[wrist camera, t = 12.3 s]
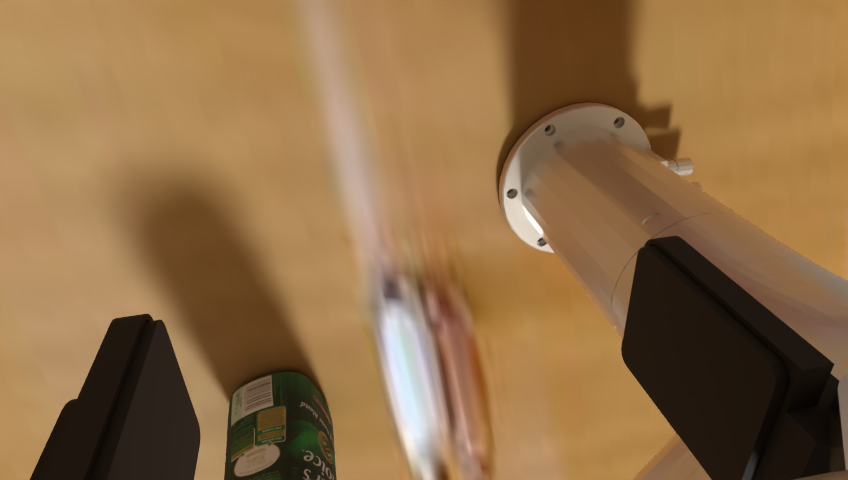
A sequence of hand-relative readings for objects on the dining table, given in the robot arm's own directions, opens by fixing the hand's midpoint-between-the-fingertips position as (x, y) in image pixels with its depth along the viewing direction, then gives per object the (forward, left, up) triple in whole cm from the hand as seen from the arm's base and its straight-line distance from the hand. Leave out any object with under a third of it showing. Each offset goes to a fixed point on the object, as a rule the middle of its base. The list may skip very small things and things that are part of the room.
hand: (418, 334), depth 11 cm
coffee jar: (+8, +31, -31) cm, 44 cm away
